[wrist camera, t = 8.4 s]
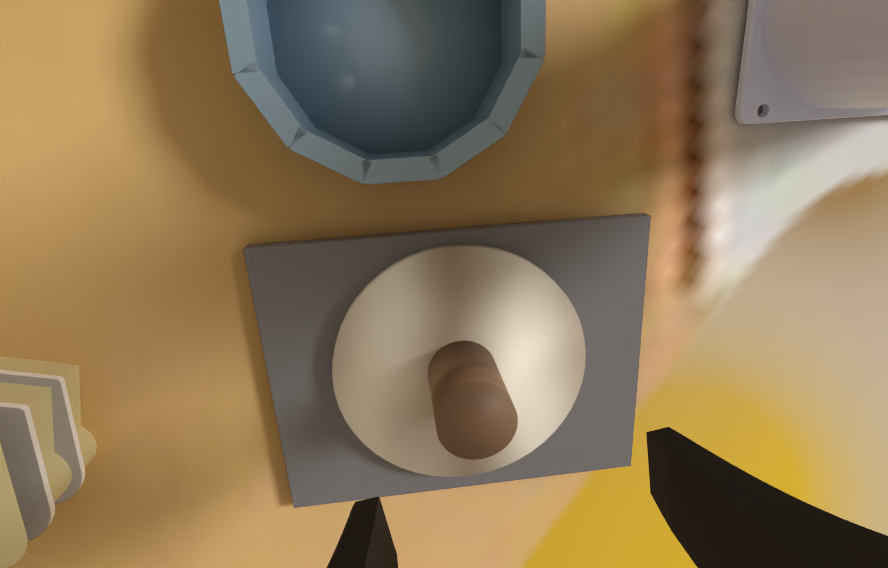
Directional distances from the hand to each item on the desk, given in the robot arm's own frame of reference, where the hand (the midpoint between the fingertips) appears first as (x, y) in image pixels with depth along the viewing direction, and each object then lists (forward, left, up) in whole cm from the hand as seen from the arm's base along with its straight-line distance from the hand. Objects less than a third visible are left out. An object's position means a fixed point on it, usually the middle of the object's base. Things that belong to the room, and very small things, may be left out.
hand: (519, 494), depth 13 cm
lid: (0, +1, -10) cm, 10 cm away
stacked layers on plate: (+19, +2, -11) cm, 22 cm away
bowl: (+2, -12, -10) cm, 16 cm away
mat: (0, +2, -10) cm, 10 cm away
